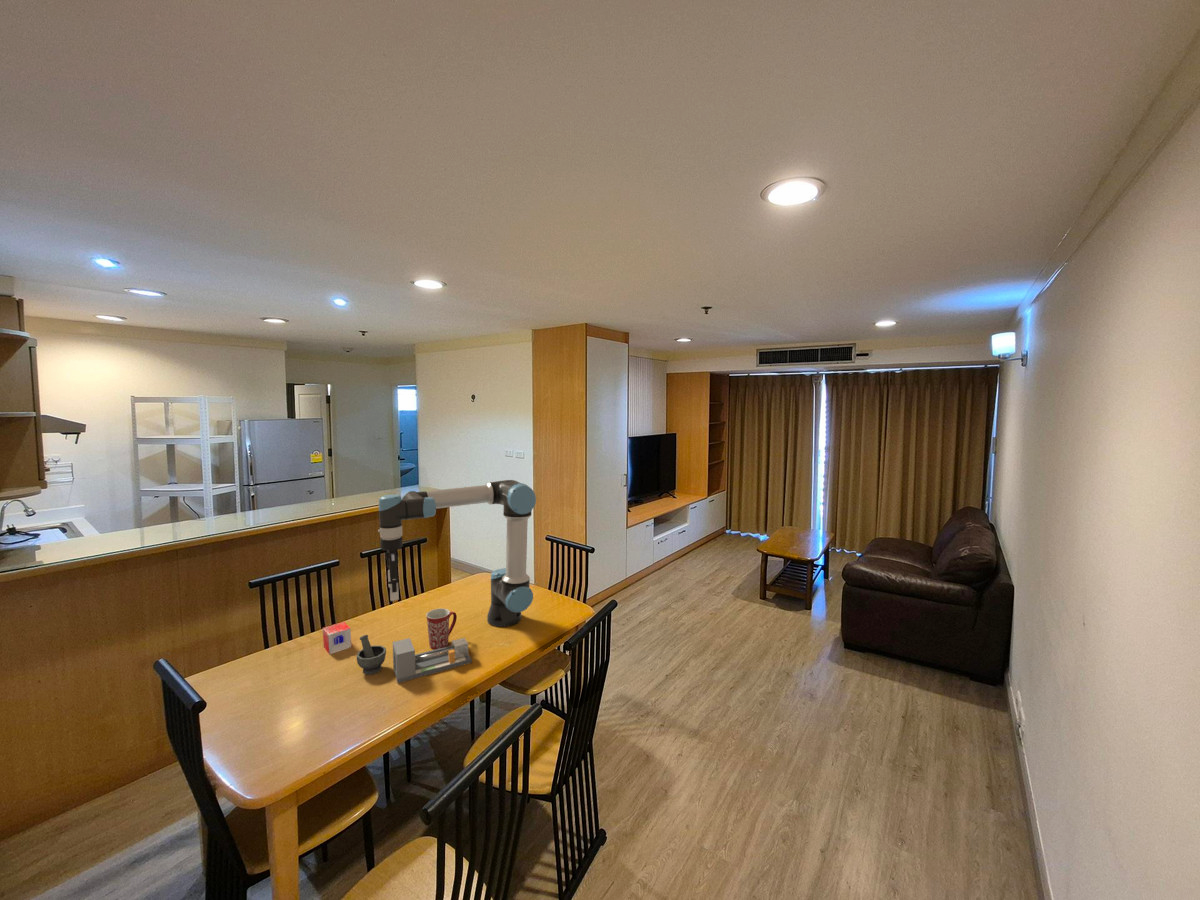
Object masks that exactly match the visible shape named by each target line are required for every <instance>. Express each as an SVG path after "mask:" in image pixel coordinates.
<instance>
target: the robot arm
mask: <svg viewBox="0 0 1200 900" xmlns="http://www.w3.org/2000/svg"><path fill="white" fill-rule="evenodd" d="M536 502H537V497H536V493H535V491H534V490H533V489H532V488H531V487H530V486H529V485H527V484H525V483H521V482H518V481H517V480H514V479H505V480H498V481H490V482H487V483H486V484H483V485H482V484H481V485H474V486H462V487H453V488H444V489H435V490H428V491H427V490H424V491H415V490H408V491H406V492H405V493H403V495H402V496H401V495H399V494H386V495H382V496H380V497H379V499H378V521H379V522H378V523H379V529H378V530H377V532H378V533H379V537H380V539H379V545H380V549H381V550H382V551H386V552H385V558H386V561H387V562H386V563H387V564H386V565H387V569H388V570H387V579H388V581H387V585H388V588H389V597H390V598H389V599H390V602H393V601H398V600H400V597H399V595H400V594H399V581H400V580H399V572H398V564H399V559H398V558H399V552H398V550H399V549H402V547H403V546H404V544H403V541H404V540H403V535H404V534H403V521H407V520H417V519H427V518H432V517H434V516H435V515H436V514H437V513H436V512H437V509H443V508H452V507H461V506H468V505H476V504H485V503H487V504H489V505H502V506H503V510H502V511H503V514H502V515H503V517H504V518H505V519H506V549H505V550H506V552H505V553H506V554H505V555H506V556H505V567H503V568H498V569H495V570H493V571H492V572H491V574H490V578H489V580H490V605H489V606H490V607H489V609H488V612H487V616H486V619H487V620H486V621H487V624H489V625H490V626H493V627H499V628H504V627H505V628H506V627H511V626H514V625H516V624H518V623H520V622H521V620H522V612H525V611H526V610H527V609H528V608H529V607H530V606H531V605H532V603H533V600H534V592H533V590H532V589H531V588H530V581H531V579H530V578H531V577H530V575H528V574H527V562H528V561H527V559H528V558H527V554H528V553H527V552H528V523H529V522H528V521H529V520H528V519H530V517H531V516H532V510H533V509H534V508H535V507H536V504H537V503H536Z"/></svg>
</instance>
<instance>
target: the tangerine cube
mask: <svg viewBox="0 0 1200 900" xmlns="http://www.w3.org/2000/svg"><path fill="white" fill-rule="evenodd" d="M448 661H449V663H453V662H455V651H454V649H452V650H449V651H448Z"/></svg>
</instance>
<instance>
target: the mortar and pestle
mask: <svg viewBox="0 0 1200 900" xmlns="http://www.w3.org/2000/svg"><path fill="white" fill-rule="evenodd" d="M359 640H360V642H361V646H362V649H361V650H359V651H358V652H357V654H356V662H357V663H356V664H357V665H358V666H359V668H361V669H362V673H363V675H366V676H367V675H369V676H371V675H375V674H378V672H380V671H382V665H383V664H384V662H385V660H386V654H387V648H386V647H385V646H383V645H371V643H370V640H369V634H364V635H362V636H360V637H359Z"/></svg>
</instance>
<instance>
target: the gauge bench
mask: <svg viewBox="0 0 1200 900" xmlns="http://www.w3.org/2000/svg"><path fill="white" fill-rule="evenodd" d="M450 648H452V645H449V646H448V645H447V646H446V647H444V648H440V649H432V650H428V651H424V652H421V653H417V654H416V650H415V646H414V645H413V643H412V640H411V638H410V637H408V638H404V639H401V640H396V641H393V642H392V665H393V673H394V676H395V679H396V683H397V684H400V683H403V682H407V681H411V680H414V679H418V678H421V677H425V676H429V675H432V674H437V673H441V672H442V671H443V672H444V671H447V670H451V669H454V668H458V667H461V666H465V665H468V663H469V664H472V657H471V656H470V654H469V653H468V656H466V657H462V658H458V659H455V662H453V663H449V661H448V654H445V655H441V656H437V657H433V658H430V659H426V660H422V661H418V662H415V657H419V656H423V655H427V654H431V653H435V652H439V651H442V650H446V649H450ZM464 664H465V665H464Z"/></svg>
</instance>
